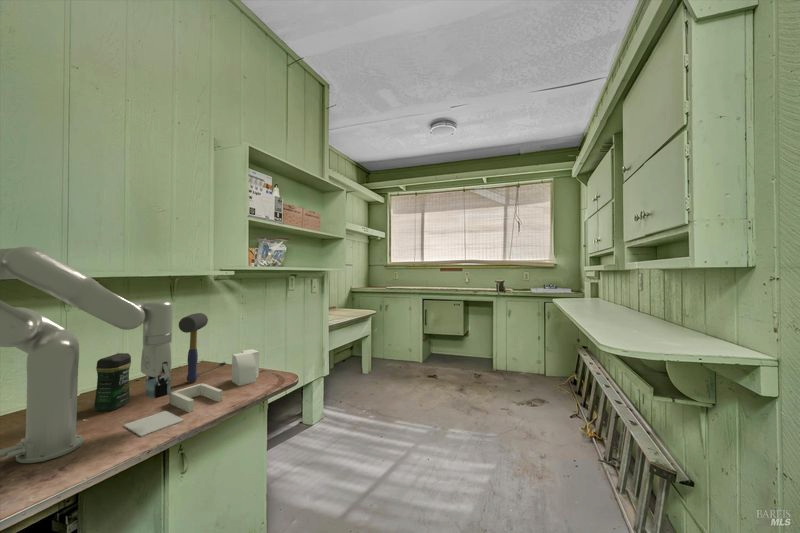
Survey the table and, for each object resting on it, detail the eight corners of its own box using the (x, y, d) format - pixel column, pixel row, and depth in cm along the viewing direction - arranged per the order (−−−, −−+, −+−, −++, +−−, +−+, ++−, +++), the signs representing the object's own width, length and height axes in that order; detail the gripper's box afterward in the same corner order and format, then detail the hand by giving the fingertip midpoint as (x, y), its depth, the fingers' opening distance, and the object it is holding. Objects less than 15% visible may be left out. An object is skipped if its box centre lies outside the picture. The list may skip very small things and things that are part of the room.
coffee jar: (113, 412, 111) (115, 358, 111) (89, 412, 110) (90, 358, 110) (134, 400, 121) (136, 351, 121) (112, 400, 120) (113, 351, 120)
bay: (188, 412, 113) (189, 401, 113) (169, 403, 119) (169, 392, 119) (222, 400, 123) (222, 390, 123) (202, 392, 130) (202, 383, 130)
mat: (141, 436, 96) (141, 435, 96) (123, 426, 102) (123, 424, 102) (184, 420, 107) (184, 419, 107) (165, 411, 113) (165, 410, 113)
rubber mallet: (193, 387, 135) (196, 316, 135) (174, 387, 134) (177, 316, 134) (207, 377, 148) (209, 312, 148) (190, 377, 147) (192, 311, 147)
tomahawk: (198, 380, 146) (199, 378, 146) (187, 377, 147) (187, 375, 147) (233, 366, 166) (233, 364, 166) (223, 363, 168) (223, 361, 168)
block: (152, 399, 102) (153, 383, 102) (145, 395, 104) (145, 380, 104) (170, 393, 106) (170, 378, 106) (162, 390, 109) (163, 376, 108)
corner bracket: (251, 373, 154) (252, 349, 154) (263, 379, 146) (264, 353, 146) (228, 379, 146) (229, 353, 146) (239, 386, 138) (239, 358, 138)
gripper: (131, 337, 106) (130, 392, 106) (157, 345, 97) (156, 405, 97) (157, 333, 112) (157, 385, 112) (183, 340, 104) (183, 396, 104)
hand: (156, 393), depth 105 cm, fingers closed on block, 5 cm apart
